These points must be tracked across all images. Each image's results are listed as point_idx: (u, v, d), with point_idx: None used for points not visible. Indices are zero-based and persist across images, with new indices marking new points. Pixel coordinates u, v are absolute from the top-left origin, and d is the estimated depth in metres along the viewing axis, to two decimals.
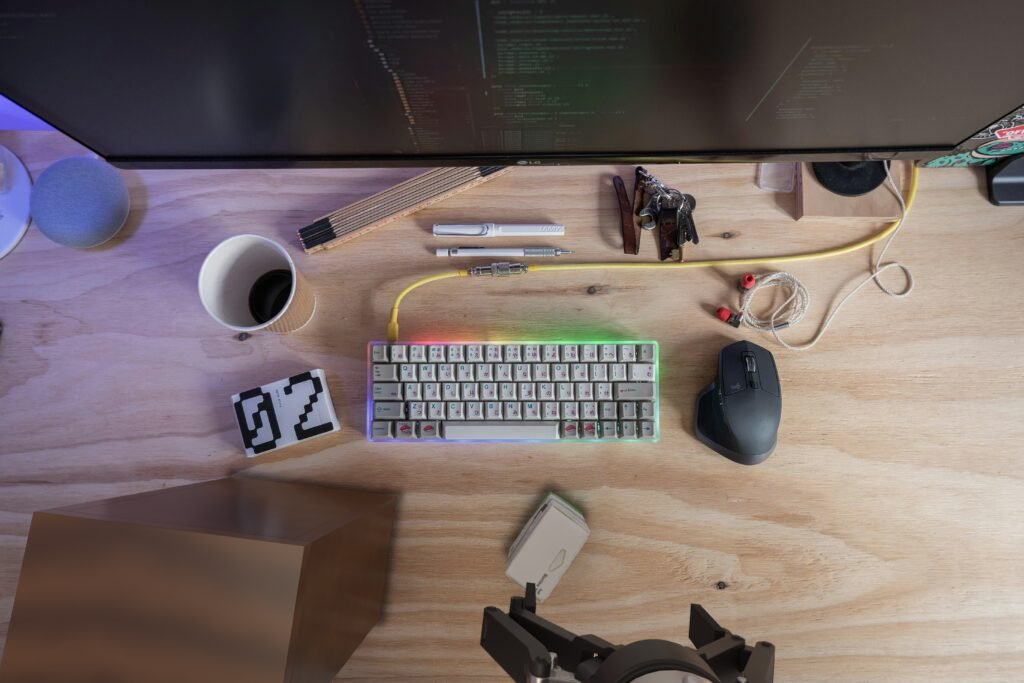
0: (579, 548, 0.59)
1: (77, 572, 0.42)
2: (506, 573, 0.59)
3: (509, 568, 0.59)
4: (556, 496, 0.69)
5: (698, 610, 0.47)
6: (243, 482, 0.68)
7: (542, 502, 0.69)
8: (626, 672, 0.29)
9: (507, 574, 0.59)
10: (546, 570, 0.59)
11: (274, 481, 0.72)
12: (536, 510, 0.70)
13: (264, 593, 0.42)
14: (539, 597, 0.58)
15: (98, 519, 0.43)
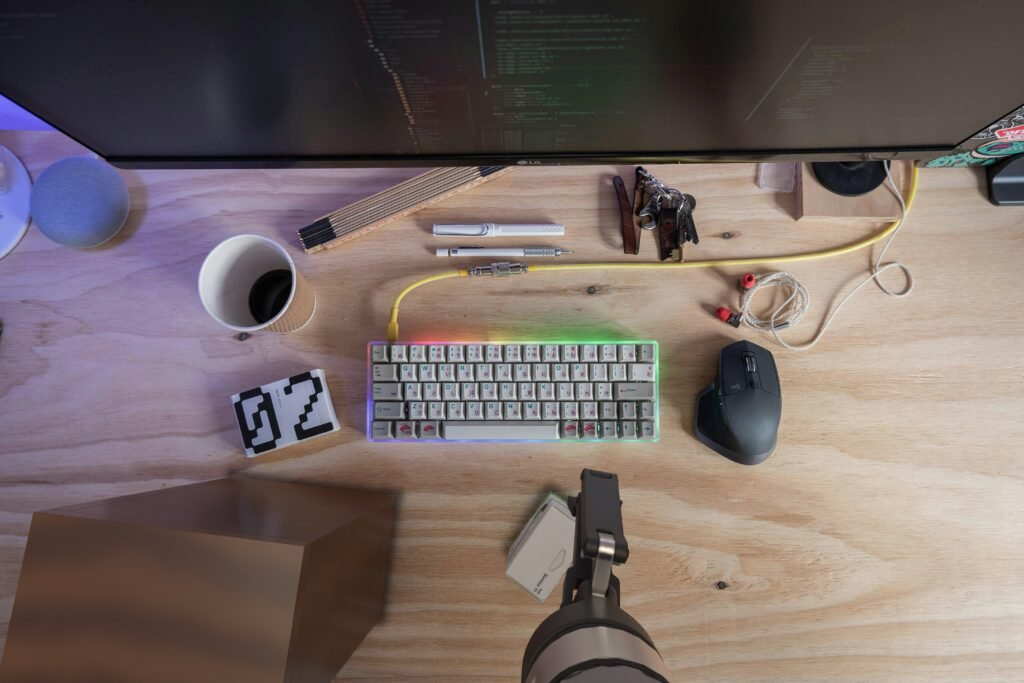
0: None
1: (77, 572, 0.42)
2: (506, 573, 0.59)
3: (509, 568, 0.59)
4: (556, 496, 0.69)
5: (568, 506, 0.49)
6: (243, 482, 0.68)
7: (542, 502, 0.69)
8: None
9: (507, 574, 0.59)
10: (546, 570, 0.59)
11: (274, 481, 0.72)
12: (536, 510, 0.70)
13: (264, 593, 0.42)
14: (539, 597, 0.58)
15: (98, 519, 0.43)
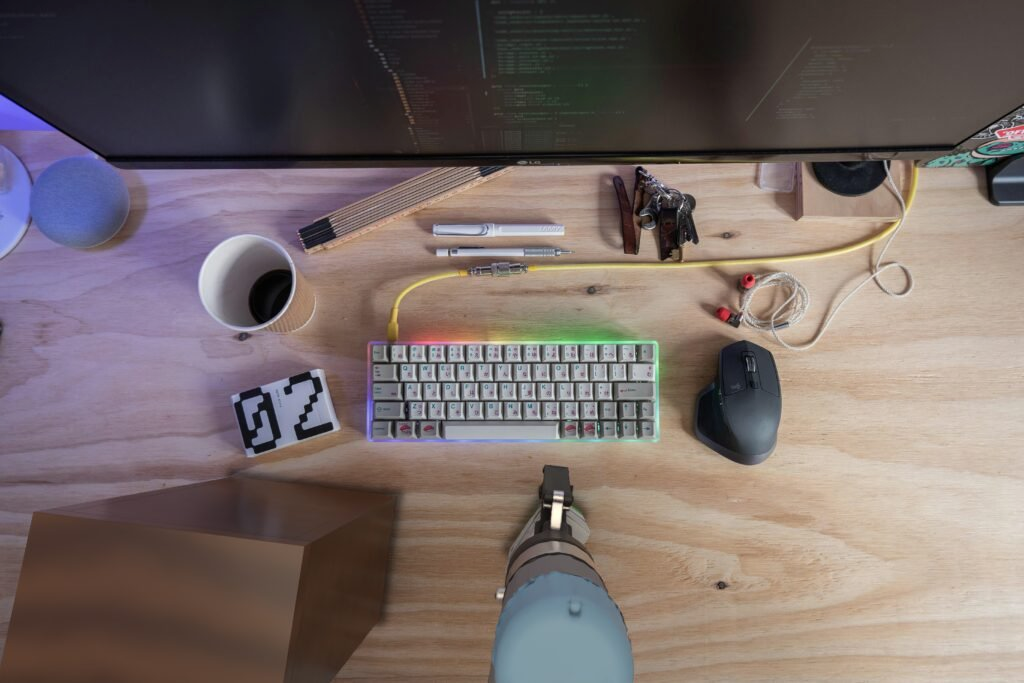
0: None
1: (77, 572, 0.42)
2: None
3: None
4: None
5: None
6: (243, 482, 0.68)
7: None
8: None
9: None
10: None
11: (274, 481, 0.72)
12: (536, 510, 0.70)
13: (264, 593, 0.42)
14: None
15: (98, 519, 0.43)
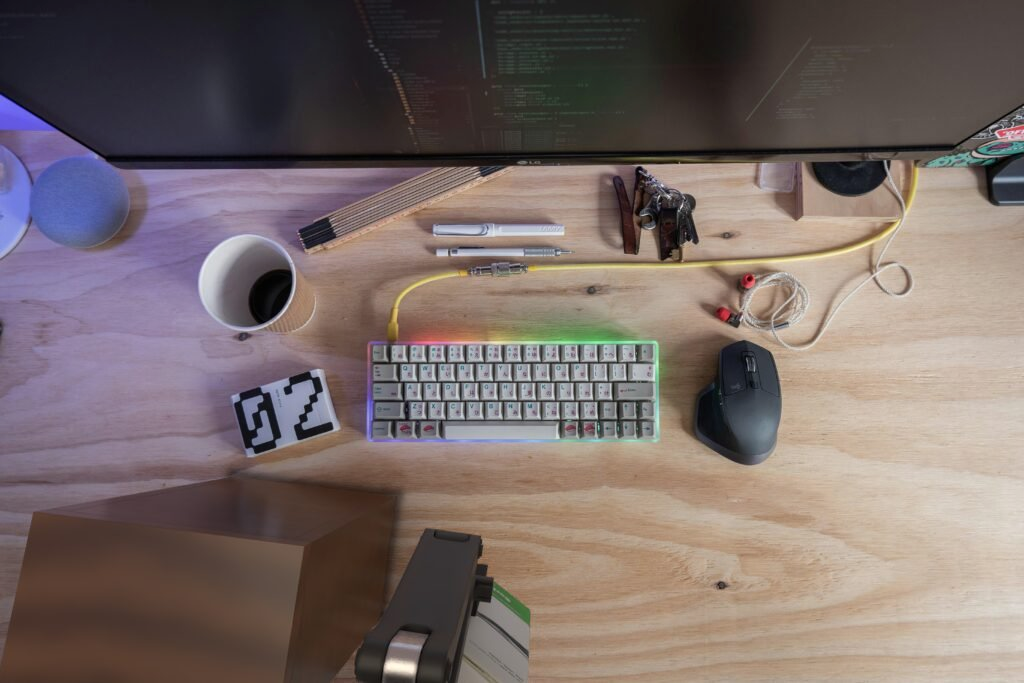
0: None
1: (77, 572, 0.42)
2: None
3: None
4: None
5: None
6: (243, 482, 0.68)
7: None
8: None
9: None
10: None
11: (274, 481, 0.72)
12: None
13: (264, 593, 0.42)
14: None
15: (98, 519, 0.43)
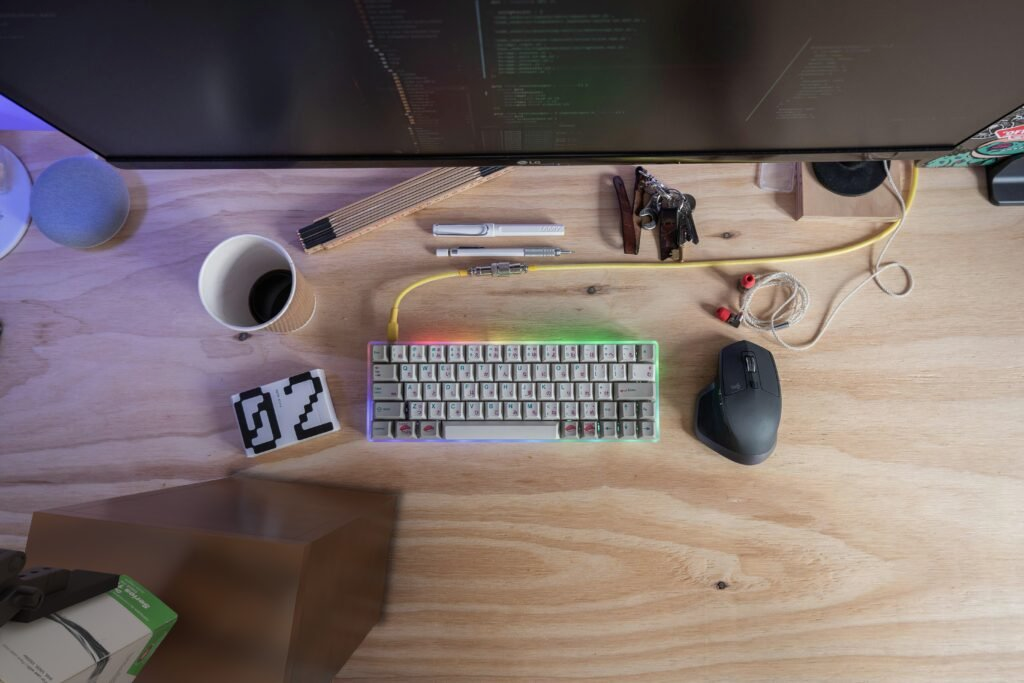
0: None
1: None
2: None
3: None
4: None
5: None
6: (243, 482, 0.68)
7: None
8: None
9: None
10: None
11: (274, 481, 0.72)
12: None
13: (264, 593, 0.42)
14: None
15: (98, 519, 0.43)
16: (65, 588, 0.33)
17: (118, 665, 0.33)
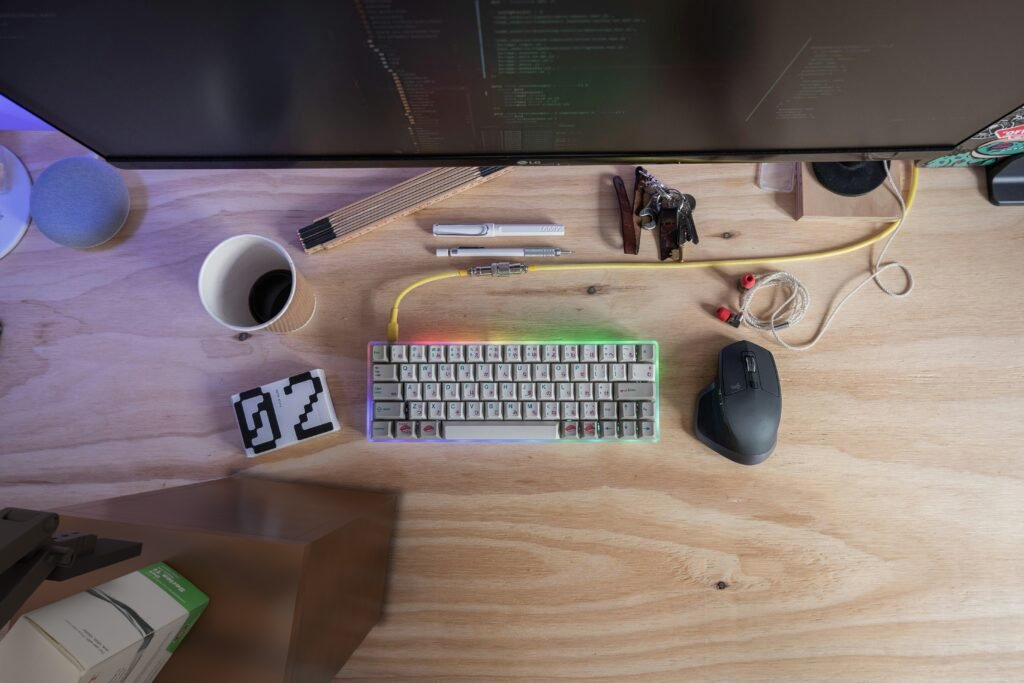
0: None
1: None
2: None
3: None
4: (151, 574, 0.40)
5: None
6: (243, 482, 0.68)
7: None
8: None
9: None
10: None
11: (274, 481, 0.72)
12: None
13: (264, 593, 0.42)
14: None
15: (98, 519, 0.43)
16: (93, 552, 0.34)
17: (160, 641, 0.37)
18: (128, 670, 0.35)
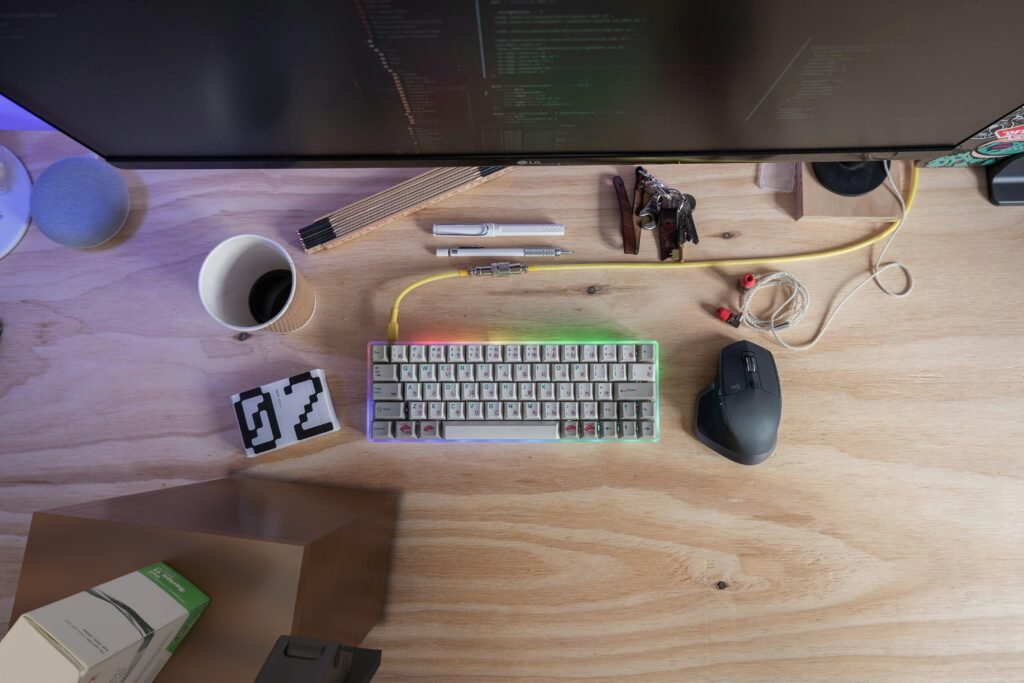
0: None
1: (77, 572, 0.42)
2: None
3: None
4: (151, 574, 0.40)
5: None
6: (243, 482, 0.68)
7: None
8: None
9: None
10: None
11: (274, 481, 0.72)
12: None
13: (264, 593, 0.42)
14: None
15: (98, 519, 0.43)
16: (350, 675, 0.28)
17: (160, 641, 0.37)
18: (128, 670, 0.35)
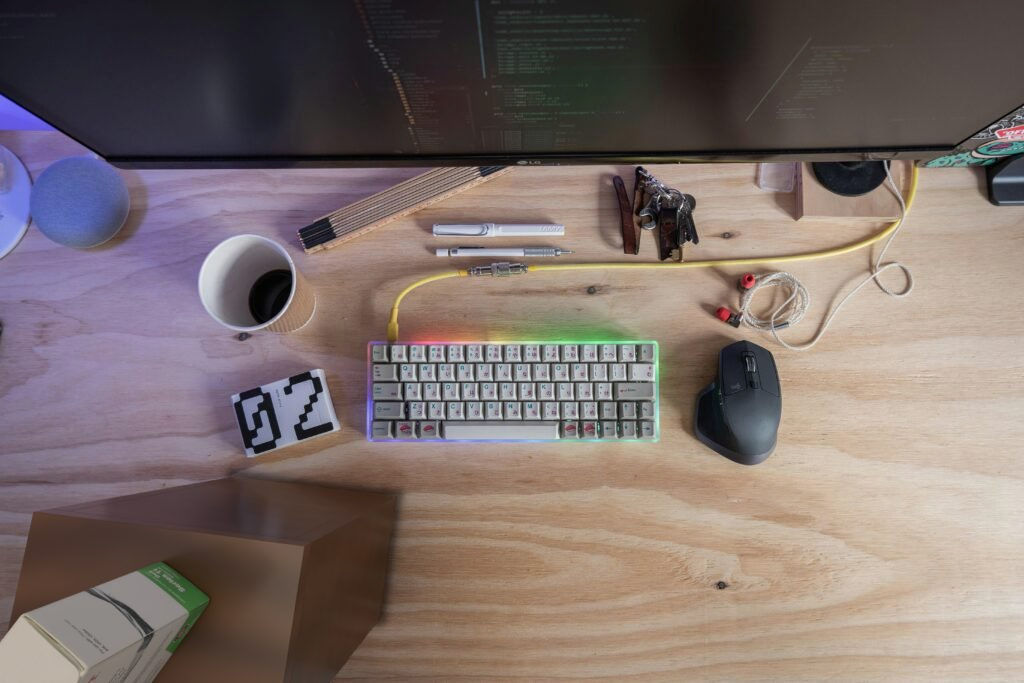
0: None
1: (77, 572, 0.42)
2: None
3: None
4: (151, 574, 0.40)
5: None
6: (243, 482, 0.68)
7: None
8: None
9: None
10: None
11: (274, 481, 0.72)
12: None
13: (264, 593, 0.42)
14: None
15: (98, 519, 0.43)
16: None
17: (160, 641, 0.37)
18: (128, 670, 0.35)
